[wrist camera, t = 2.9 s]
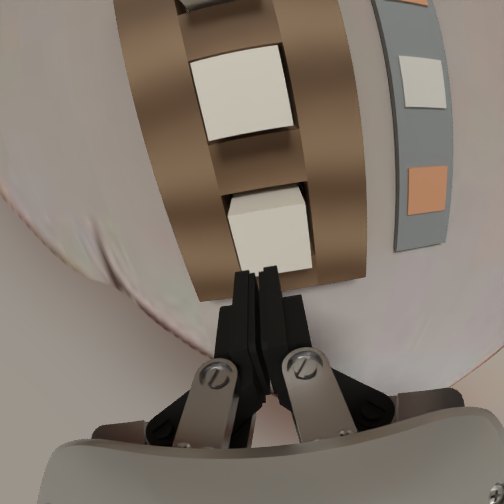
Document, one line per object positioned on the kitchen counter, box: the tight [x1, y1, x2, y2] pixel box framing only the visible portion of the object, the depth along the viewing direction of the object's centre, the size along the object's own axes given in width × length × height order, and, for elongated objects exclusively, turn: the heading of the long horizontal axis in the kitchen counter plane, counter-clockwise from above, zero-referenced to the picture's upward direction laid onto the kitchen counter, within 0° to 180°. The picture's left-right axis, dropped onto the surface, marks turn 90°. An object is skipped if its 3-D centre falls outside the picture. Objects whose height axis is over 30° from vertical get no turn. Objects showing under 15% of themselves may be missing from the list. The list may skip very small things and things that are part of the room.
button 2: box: [228, 183, 312, 276], centre depth 17 cm, size 4×4×4 cm
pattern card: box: [371, 0, 453, 252], centre depth 14 cm, size 26×5×1 cm, turn 11°
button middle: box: [190, 45, 293, 141], centre depth 13 cm, size 4×4×4 cm
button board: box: [113, 0, 367, 302], centre depth 14 cm, size 26×12×3 cm, turn 11°
